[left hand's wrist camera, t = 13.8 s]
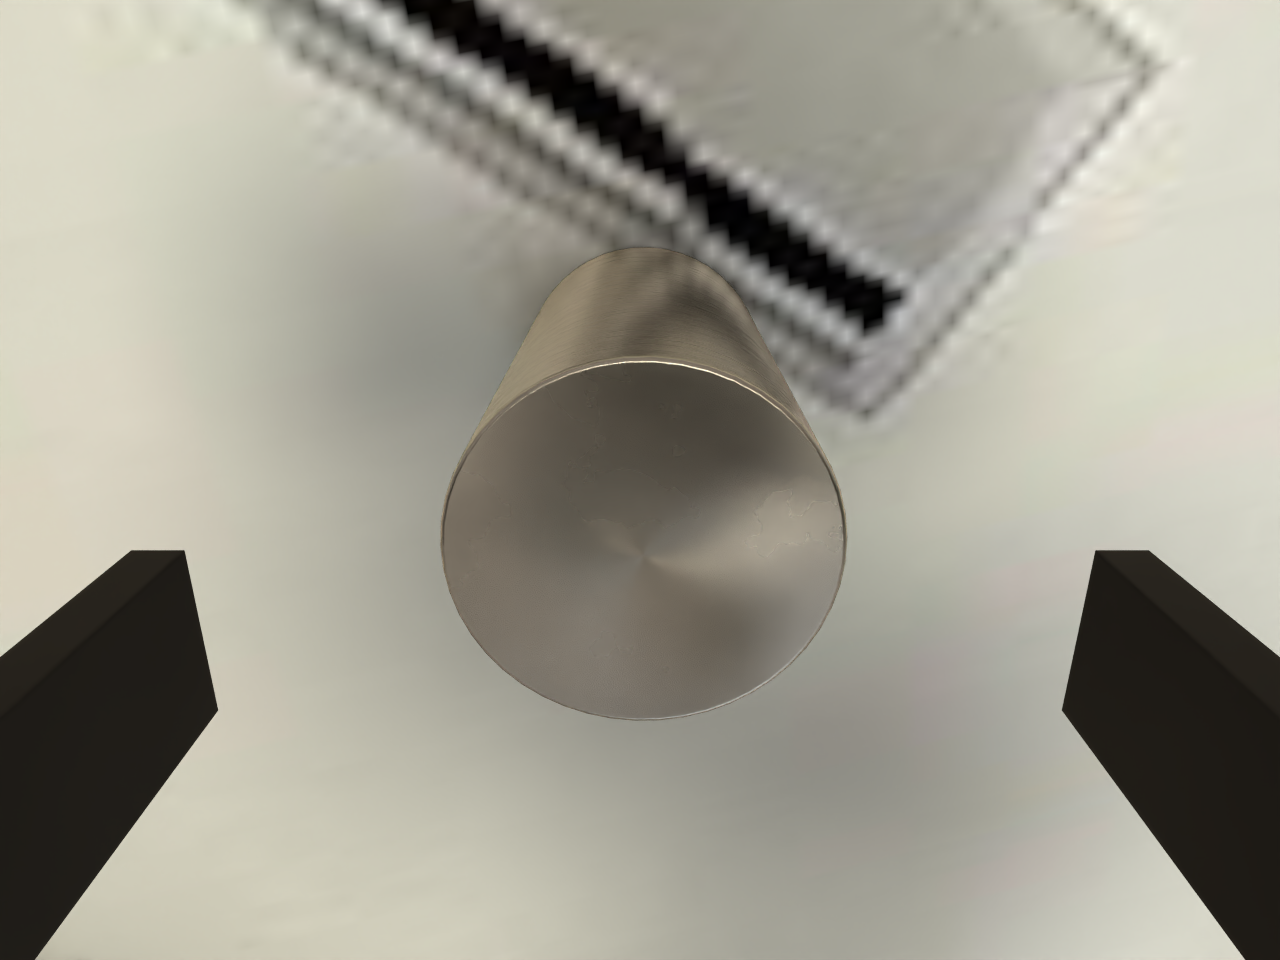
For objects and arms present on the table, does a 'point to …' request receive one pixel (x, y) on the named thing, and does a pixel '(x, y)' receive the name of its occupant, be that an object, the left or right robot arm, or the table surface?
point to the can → (643, 500)
